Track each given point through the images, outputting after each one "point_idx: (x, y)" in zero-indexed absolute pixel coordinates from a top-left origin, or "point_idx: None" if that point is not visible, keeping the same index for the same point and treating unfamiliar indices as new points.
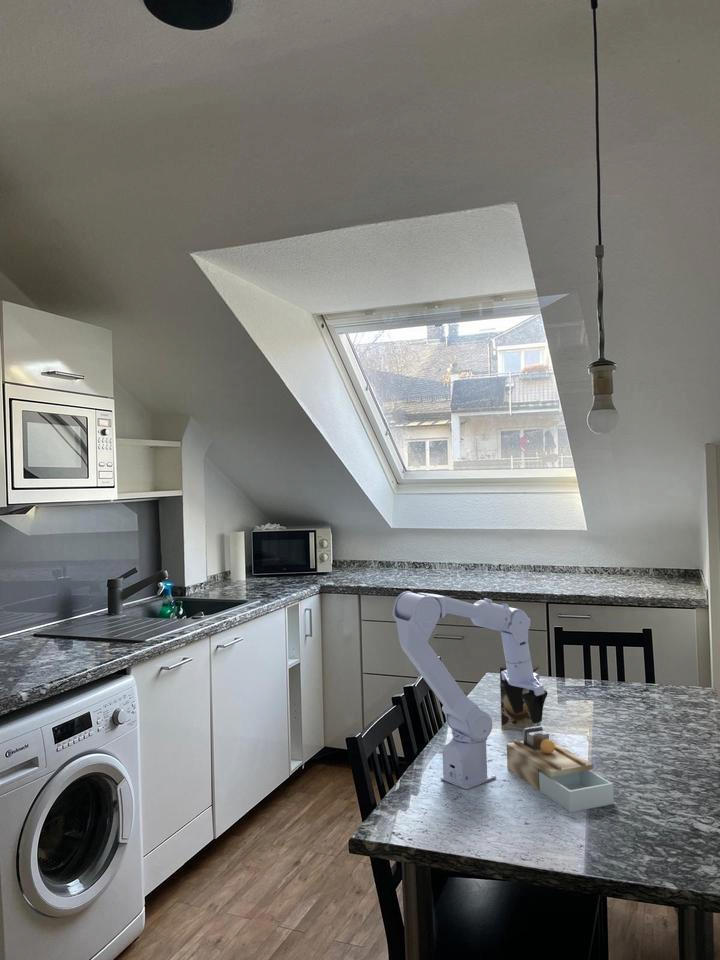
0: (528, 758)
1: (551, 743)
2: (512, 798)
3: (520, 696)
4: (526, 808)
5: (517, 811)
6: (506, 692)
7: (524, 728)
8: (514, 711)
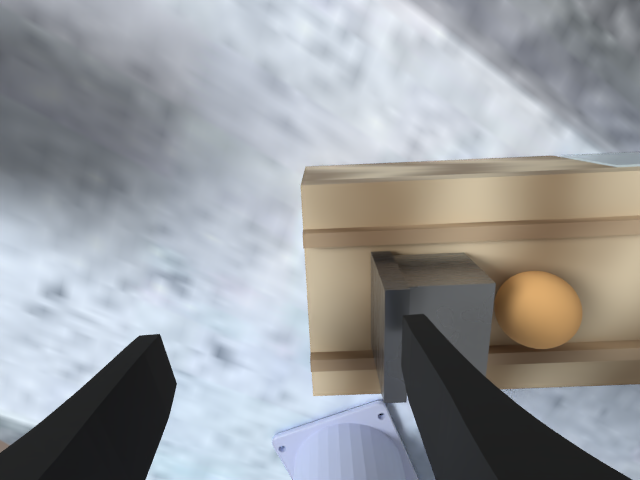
0: (510, 385)
1: (581, 313)
2: (536, 415)
3: (91, 443)
4: (615, 410)
5: (615, 437)
6: None
7: (387, 396)
8: (169, 402)
